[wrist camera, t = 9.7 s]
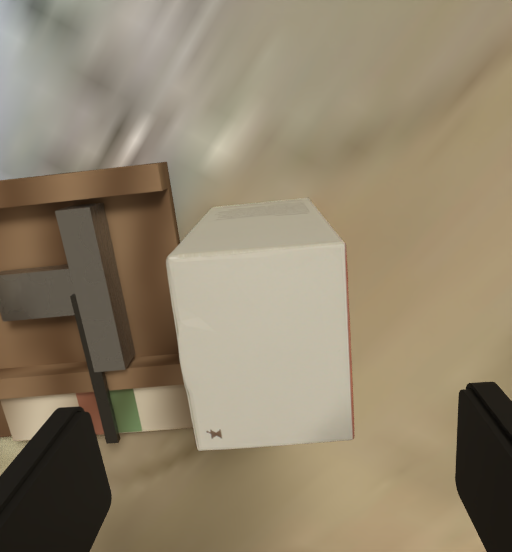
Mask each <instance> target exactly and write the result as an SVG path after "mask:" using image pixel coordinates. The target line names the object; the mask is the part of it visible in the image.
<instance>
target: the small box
mask: <svg viewBox="0 0 512 552" xmlns="http://www.w3.org/2000/svg"><path fill="white" fill-rule="evenodd" d="M166 268H167V276H168V283H169V289H170V296H171V303H172V309H173V315H174V322H175V328H176V334H177V342H178V350H179V359H180V366H181V371H182V375H183V382H184V386H185V389H186V393H187V397H188V402H189V408H190V413H191V419H192V424H193V429H194V435H195V440H196V446H197V449H198V450H199V451H205V450H220V449H239V448H254V447H268V446H282V445H295V444H307V443H321V442H332V441H344V440H352V439H354V409H353V383H352V361H351V338H350V317H349V297H348V272H347V254H346V243H345V242H344V241H343V240H342V239H341V238H340V236H339V235H338V234H337V233H336V231H335V230H334V229H333V228H332V226H331V225H330V224H329V223H328V222H327V220H326V219H325V218H324V217H323V215H322V214H321V213H320V212H319V210H318V209H317V208H316V207H315V205H314V204H313V203H312V202H311V200H310V199H309V198H300V199H290V200H280V201H270V202H259V203H249V204H239V205H228V206H218V207H212V208H211V209H210V210H209V211H208V212H207V213H206V214H205V216H204V217H203V218H202V219H201V220H200V221H199V222H198V223H197V225H196V226H195V227H194V228H193V229H192V230H191V231H190V232H189V233H188V235H187V236H186V237H185V238H184V239H183V240H182V241H181V243H180V244H179V245H178V246H177V247H176V248H175V249H174V250H173V251H172V252H171V253H170V254H169V255H168V256H167V259H166Z"/></svg>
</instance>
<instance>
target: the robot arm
mask: <svg viewBox="0 0 512 552" xmlns="http://www.w3.org/2000/svg"><path fill="white" fill-rule="evenodd" d="M455 480H456V487H457V491H458V494H459V496H460V498H461V500H462V502H463V504H464V506H465V508H466V511H467V513H468V515H469V517H470V519H471V521H472V523H473V525H474V527H475V529H476V531H477V533H478V535H479V537H480V539H481V541H482V543H483V545H484V547H485V549H486V551H487V552H512V401H511V400H510V399H509V398H508V397H507V395H506V394H505V393H504V392H503V391H502V390H501V389H500V387H499V386H498V385H497V384H496V383H495V382H481V383H469V384H467V386H466V390H460V392H459V403H458V427H457V451H456V476H455ZM110 505H111V490H110V486H109V483H108V479H107V475H106V471H105V467H104V464H103V460H102V456H101V452H100V448H99V445H98V441H97V437H96V433H95V430H94V426H93V422H92V418H91V415H90V413H89V412H85V411H84V409H83V408H82V407H80V406H78V407H61V408H57V409H56V410H55V411H54V412H53V413H52V415H51V416H50V417H49V418H48V419H47V421H46V422H45V423H44V424H43V425H42V427H41V428H40V429H39V430H38V431H37V433H36V434H35V435H34V436H33V437H32V439H31V440H30V441H29V442H28V443H27V445H26V446H25V447H24V448H23V449H22V451H21V452H20V453H19V454H18V456H17V457H16V458H15V459H14V460H13V462H12V463H11V464H10V465H9V466H8V468H7V469H6V470H5V471H4V472H3V474H2V475H1V476H0V552H89V551H90V549H91V547H92V545H93V543H94V541H95V538H96V536H97V534H98V532H99V530H100V528H101V526H102V523H103V521H104V519H105V517H106V515H107V513H108V511H109V508H110Z"/></svg>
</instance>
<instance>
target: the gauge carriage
mask: <svg viewBox="0 0 512 552" xmlns="http://www.w3.org/2000/svg"><path fill="white" fill-rule="evenodd" d="M55 214H56V218H57V222H58V226H59V230H60V234H61V238H62V242H63V246H64V250H65V254H66V259H67V263H68V264H66V265H56V266H46V267H36V268H26V269H16V270H6V271H0V314H1V317H2V320H3V322H5V321H16V320H27V319H38V318H49V317H60V316H70V315H75V318H76V322H77V326H78V330H79V334H80V338H81V342H82V346H83V350H84V354H85V358H86V362H87V366H88V370H89V374H90V378H91V382H92V386H93V390H94V394H95V398H96V402H97V406H98V410H99V415H100V419H101V423H102V427H103V431H104V435H105V439H106V443H119V441H120V435H119V431H118V427H117V422H116V418H115V414H114V410H113V405H112V401H111V397H110V393H109V389H108V384H107V380H106V376H105V372H104V371H116V370H126V368H127V367H128V365H129V363H130V362H131V360H132V359H133V357H134V355H135V349H134V345H133V340H132V335H131V330H130V326H129V321H128V316H127V312H126V307H125V302H124V297H123V293H122V288H121V283H120V278H119V274H118V269H117V264H116V259H115V255H114V250H113V245H112V240H111V236H110V231H109V226H108V221H107V217H106V212H105V207H104V202H101V203H92V204H83V205H73V206H69V207H66V208H63V209H59V210H56V211H55Z"/></svg>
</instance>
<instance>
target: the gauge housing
mask: <svg viewBox="0 0 512 552" xmlns="http://www.w3.org/2000/svg"><path fill="white" fill-rule="evenodd" d="M101 202H104V207H105V212H106V217H107V221H108V226H109V231H110V236H111V240H112V245H113V250H114V255H115V259H116V264H117V269H118V274H119V278H120V283H121V288H122V293H123V297H124V302H125V307H126V312H127V316H128V321H129V326H130V330H131V335H132V340H133V345H134V349H135V355H134V357H133V359H132V360H131V362H130V363H129V365H128V367H127V368H126V370H116V371H104V372H105V376H106V380H107V384H108V389H109V393H110V397H111V401H112V405H113V410H114V414H115V418H116V422H117V427H118V431H119V433H129V432H142V431H156V430H169V429H182V428H193V424H192V419H191V413H190V408H189V402H188V397H187V393H186V389H185V386H184V382H183V375H182V371H181V366H180V359H179V350H178V342H177V334H176V328H175V322H174V315H173V309H172V303H171V296H170V289H169V283H168V276H167V268H166V259H167V256H168V255H169V254H170V253H171V252H172V251H173V250H174V249H175V248H176V247H177V246H178V245H179V244H180V240H179V234H178V228H177V222H176V215H175V209H174V203H173V197H172V191H171V185H170V179H169V173H168V166H167V162H162V163H153V164H144V165H135V166H126V167H117V168H108V169H99V170H90V171H81V172H72V173H63V174H54V175H45V176H36V177H27V178H18V179H9V180H0V271H6V270H16V269H26V268H36V267H46V266H56V265H66V264H68V263H67V259H66V254H65V250H64V246H63V242H62V238H61V234H60V230H59V226H58V222H57V218H56V214H55V211H56V210H59V209H63V208H66V207H69V206H73V205H83V204H92V203H101ZM78 406H80V407H82V408H83V409H84V411H85V412H89V413H90V415H91V418H92V422H93V426H94V430H95V433H96V435H102V434H104V431H103V427H102V423H101V419H100V415H99V410H98V406H97V402H96V398H95V394H94V390H93V386H92V382H91V378H90V374H89V370H88V366H87V362H86V358H85V354H84V350H83V346H82V342H81V338H80V334H79V330H78V326H77V322H76V318H75V315H70V316H60V317H49V318H38V319H27V320H16V321H5V322H3V320H2V317H1V314H0V437H7V436H12V438H13V441H21V440H31V439H32V437H33V436H34V435H35V434H36V433H37V431H38V430H39V429H40V428H41V427H42V425H43V424H44V423H45V422H46V421H47V419H48V418H49V417H50V416H51V415H52V413H53V412H54V411H55V410H56V409H57V408H61V407H78Z"/></svg>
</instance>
